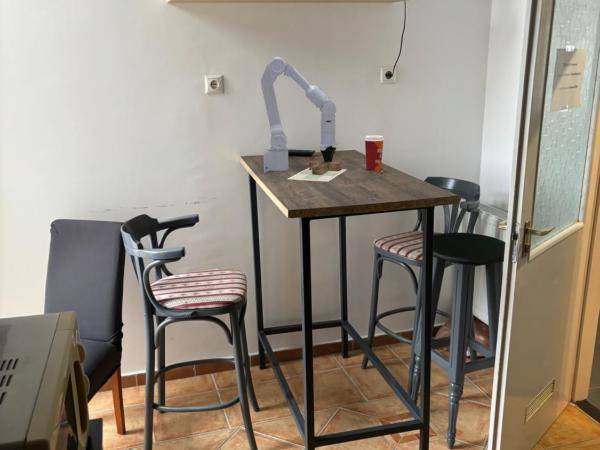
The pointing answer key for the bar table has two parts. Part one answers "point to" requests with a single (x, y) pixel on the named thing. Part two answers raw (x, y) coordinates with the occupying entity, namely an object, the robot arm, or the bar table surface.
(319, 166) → the t block
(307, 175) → the board
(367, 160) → the paper cup
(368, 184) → the bar table surface
